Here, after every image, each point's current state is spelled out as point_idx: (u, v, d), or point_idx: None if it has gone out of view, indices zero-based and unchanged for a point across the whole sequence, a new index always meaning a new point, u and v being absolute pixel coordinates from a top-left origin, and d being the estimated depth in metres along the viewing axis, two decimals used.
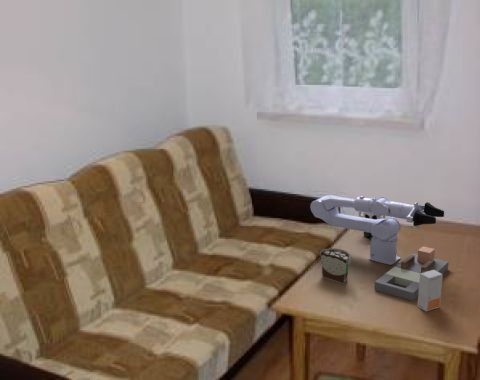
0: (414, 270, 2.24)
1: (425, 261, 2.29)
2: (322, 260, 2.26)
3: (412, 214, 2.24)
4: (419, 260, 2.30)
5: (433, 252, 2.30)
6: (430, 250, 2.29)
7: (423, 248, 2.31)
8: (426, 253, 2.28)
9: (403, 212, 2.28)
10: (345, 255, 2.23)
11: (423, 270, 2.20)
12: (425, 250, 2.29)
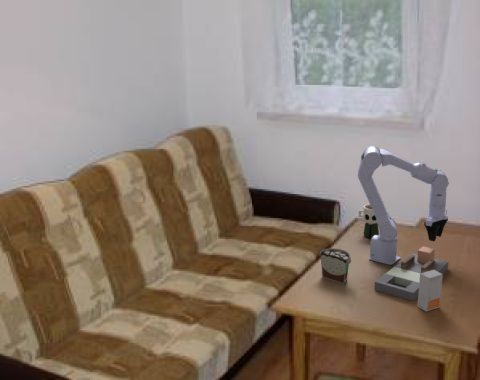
0: (414, 270, 2.24)
1: (425, 261, 2.29)
2: (322, 260, 2.26)
3: None
4: (419, 260, 2.30)
5: (433, 252, 2.30)
6: (430, 250, 2.29)
7: (423, 248, 2.31)
8: (426, 253, 2.28)
9: (435, 209, 2.29)
10: (345, 255, 2.23)
11: (423, 270, 2.20)
12: (425, 250, 2.29)
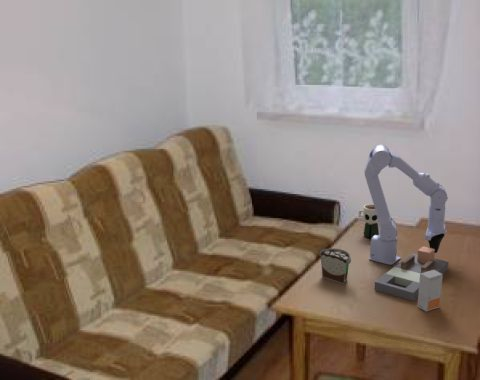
0: (414, 270, 2.24)
1: (425, 261, 2.29)
2: (322, 260, 2.26)
3: None
4: (419, 260, 2.30)
5: (433, 252, 2.30)
6: (430, 250, 2.29)
7: (423, 248, 2.31)
8: (426, 253, 2.28)
9: (434, 223, 2.30)
10: (345, 255, 2.23)
11: (423, 270, 2.20)
12: (425, 250, 2.29)
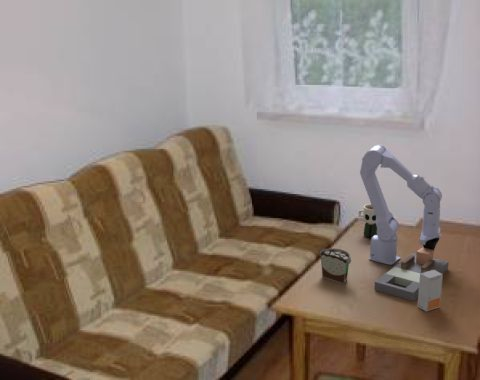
0: (414, 270, 2.24)
1: (424, 262, 2.28)
2: (322, 260, 2.26)
3: None
4: (418, 261, 2.29)
5: (432, 253, 2.29)
6: (429, 251, 2.28)
7: (422, 249, 2.30)
8: (425, 254, 2.27)
9: (429, 227, 2.27)
10: (345, 255, 2.23)
11: (423, 270, 2.20)
12: (424, 251, 2.28)
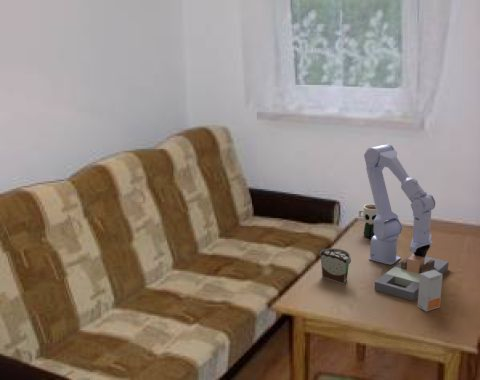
0: None
1: (414, 270, 2.22)
2: (322, 260, 2.26)
3: None
4: (409, 269, 2.23)
5: (423, 261, 2.23)
6: (420, 259, 2.22)
7: (412, 256, 2.24)
8: (415, 262, 2.21)
9: (419, 234, 2.21)
10: (345, 255, 2.23)
11: (423, 270, 2.20)
12: (414, 259, 2.22)
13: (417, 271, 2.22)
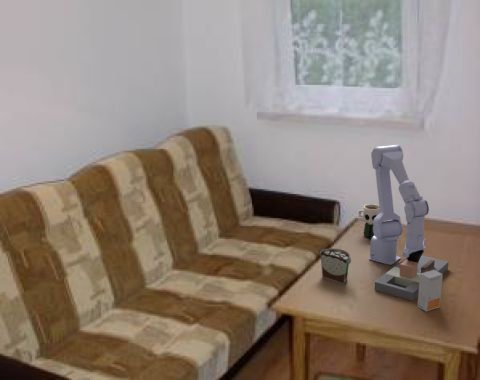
0: None
1: (407, 276, 2.18)
2: (322, 260, 2.26)
3: None
4: (401, 275, 2.19)
5: (416, 266, 2.19)
6: (413, 264, 2.18)
7: (406, 262, 2.20)
8: (408, 267, 2.17)
9: (412, 239, 2.17)
10: (345, 255, 2.23)
11: (423, 270, 2.20)
12: (407, 264, 2.18)
13: (410, 277, 2.18)
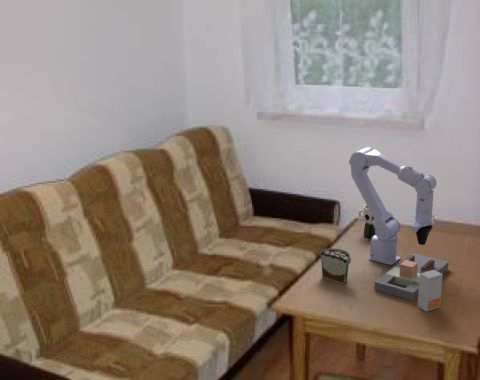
0: None
1: (407, 276, 2.18)
2: (322, 260, 2.26)
3: None
4: (401, 275, 2.19)
5: (416, 266, 2.19)
6: (413, 264, 2.18)
7: (406, 262, 2.20)
8: (408, 267, 2.17)
9: (421, 214, 2.24)
10: (345, 255, 2.23)
11: (423, 270, 2.20)
12: (407, 264, 2.18)
13: (410, 277, 2.18)
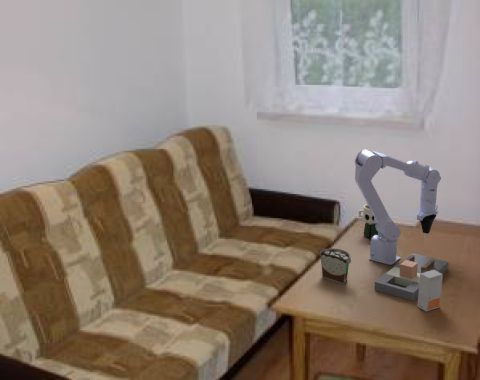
0: None
1: (407, 276, 2.18)
2: (322, 260, 2.26)
3: None
4: (401, 275, 2.19)
5: (416, 266, 2.19)
6: (413, 264, 2.18)
7: (406, 262, 2.20)
8: (408, 267, 2.17)
9: (426, 204, 2.34)
10: (345, 255, 2.23)
11: (423, 270, 2.20)
12: (407, 264, 2.18)
13: (410, 277, 2.18)
